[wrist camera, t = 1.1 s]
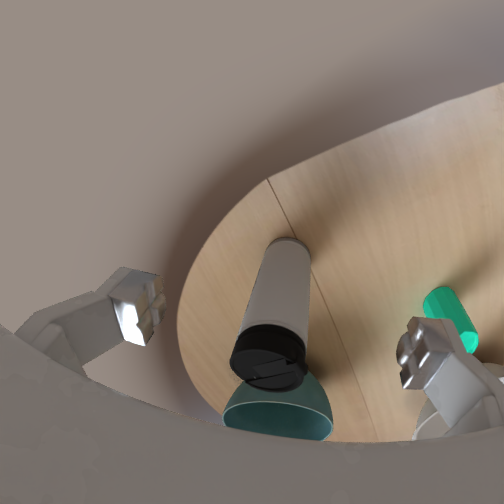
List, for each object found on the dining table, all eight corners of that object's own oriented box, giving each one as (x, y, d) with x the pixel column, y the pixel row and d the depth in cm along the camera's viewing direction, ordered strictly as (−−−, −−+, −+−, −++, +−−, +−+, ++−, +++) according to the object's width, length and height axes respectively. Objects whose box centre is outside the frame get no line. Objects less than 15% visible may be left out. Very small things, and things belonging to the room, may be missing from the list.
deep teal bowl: (340, 393, 50) (339, 445, 39) (257, 401, 56) (245, 448, 45) (323, 333, 43) (322, 396, 32) (223, 347, 49) (202, 401, 38)
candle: (452, 312, 37) (477, 365, 26) (421, 320, 38) (441, 376, 28) (456, 282, 34) (487, 335, 24) (423, 290, 36) (449, 347, 26)
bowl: (487, 398, 45) (496, 426, 37) (399, 423, 53) (402, 456, 44) (522, 325, 34) (541, 358, 26) (416, 357, 42) (427, 400, 33)
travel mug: (321, 265, 37) (321, 389, 20) (279, 284, 40) (253, 404, 23) (298, 227, 36) (283, 342, 18) (255, 249, 38) (210, 364, 21)
